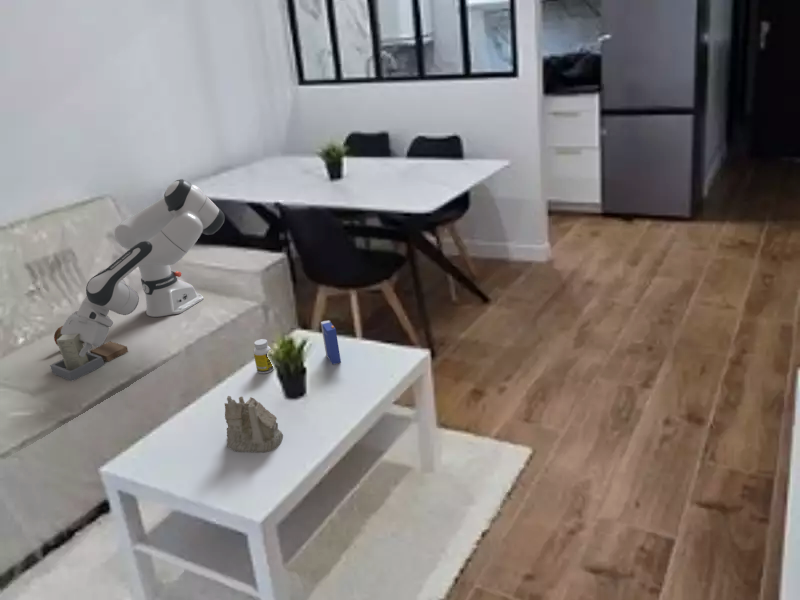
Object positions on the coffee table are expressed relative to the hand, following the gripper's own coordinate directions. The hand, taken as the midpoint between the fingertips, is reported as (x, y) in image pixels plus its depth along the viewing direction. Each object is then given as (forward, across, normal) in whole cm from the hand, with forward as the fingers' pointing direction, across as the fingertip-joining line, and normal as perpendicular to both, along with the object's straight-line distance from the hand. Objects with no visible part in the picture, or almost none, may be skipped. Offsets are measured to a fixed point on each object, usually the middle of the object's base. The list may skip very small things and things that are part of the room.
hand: (73, 353), depth 245 cm
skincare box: (+4, 0, +4) cm, 6 cm away
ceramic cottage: (+4, +86, +5) cm, 87 cm away
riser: (-4, 0, +13) cm, 13 cm away
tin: (-4, -20, +13) cm, 24 cm away
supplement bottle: (-16, +61, +24) cm, 67 cm away
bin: (+4, 0, +4) cm, 6 cm away
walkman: (-26, +76, +35) cm, 88 cm away
